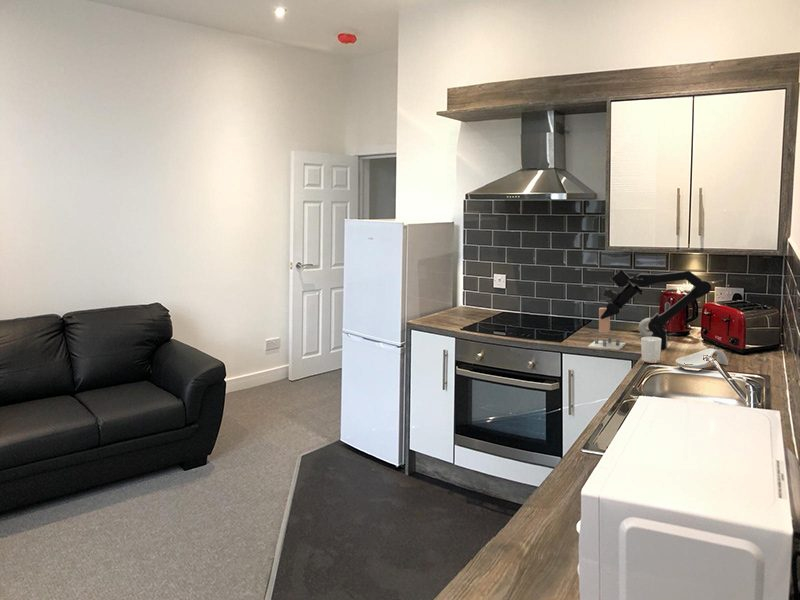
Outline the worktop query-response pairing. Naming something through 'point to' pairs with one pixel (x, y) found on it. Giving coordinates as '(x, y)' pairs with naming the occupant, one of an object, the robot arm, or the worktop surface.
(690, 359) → the spoon rest
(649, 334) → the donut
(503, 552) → the worktop surface
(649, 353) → the white cup
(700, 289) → the robot arm
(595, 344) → the peg board
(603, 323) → the terracotta block
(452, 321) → the worktop surface
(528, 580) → the worktop surface
